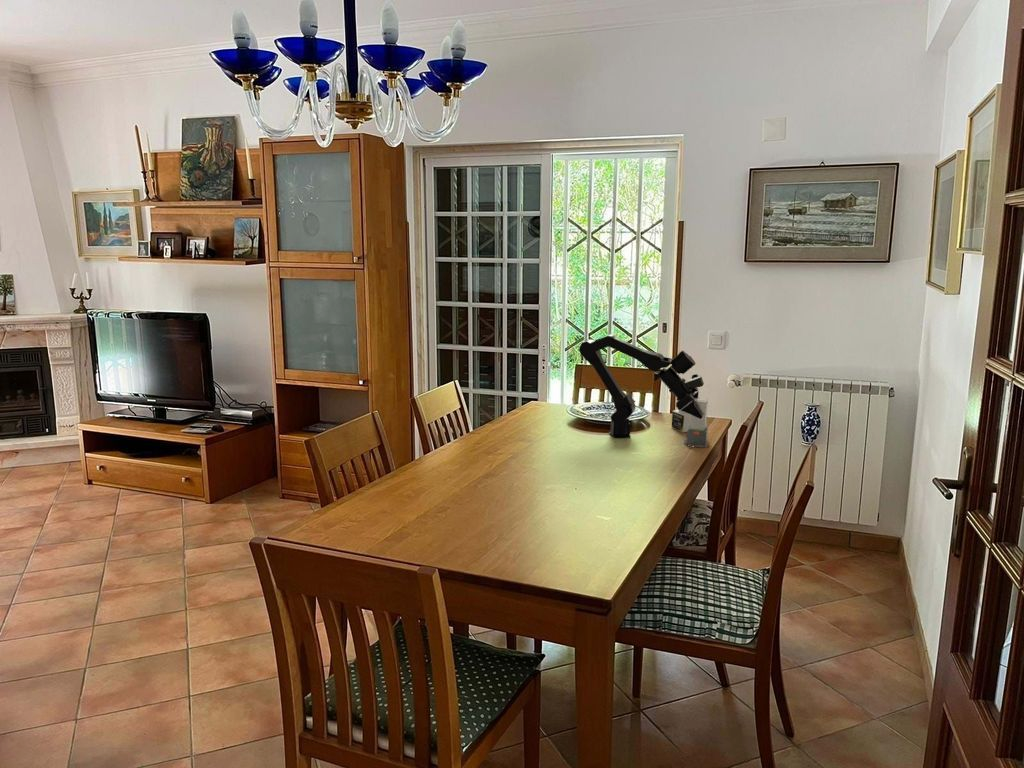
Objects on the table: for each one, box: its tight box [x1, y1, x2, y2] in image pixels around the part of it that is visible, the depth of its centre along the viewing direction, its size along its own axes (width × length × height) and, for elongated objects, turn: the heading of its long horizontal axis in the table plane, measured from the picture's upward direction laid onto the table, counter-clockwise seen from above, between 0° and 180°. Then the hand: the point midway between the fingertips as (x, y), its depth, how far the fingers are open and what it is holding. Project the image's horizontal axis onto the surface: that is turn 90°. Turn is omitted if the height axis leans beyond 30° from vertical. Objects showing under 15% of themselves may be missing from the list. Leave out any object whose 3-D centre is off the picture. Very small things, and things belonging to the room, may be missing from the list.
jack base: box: [683, 426, 711, 448], centre depth 268 cm, size 9×9×6 cm
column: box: [690, 397, 709, 432], centre depth 266 cm, size 5×5×12 cm
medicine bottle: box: [671, 408, 691, 433], centre depth 286 cm, size 7×7×12 cm
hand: (702, 415), depth 265 cm, fingers open, 9 cm apart
